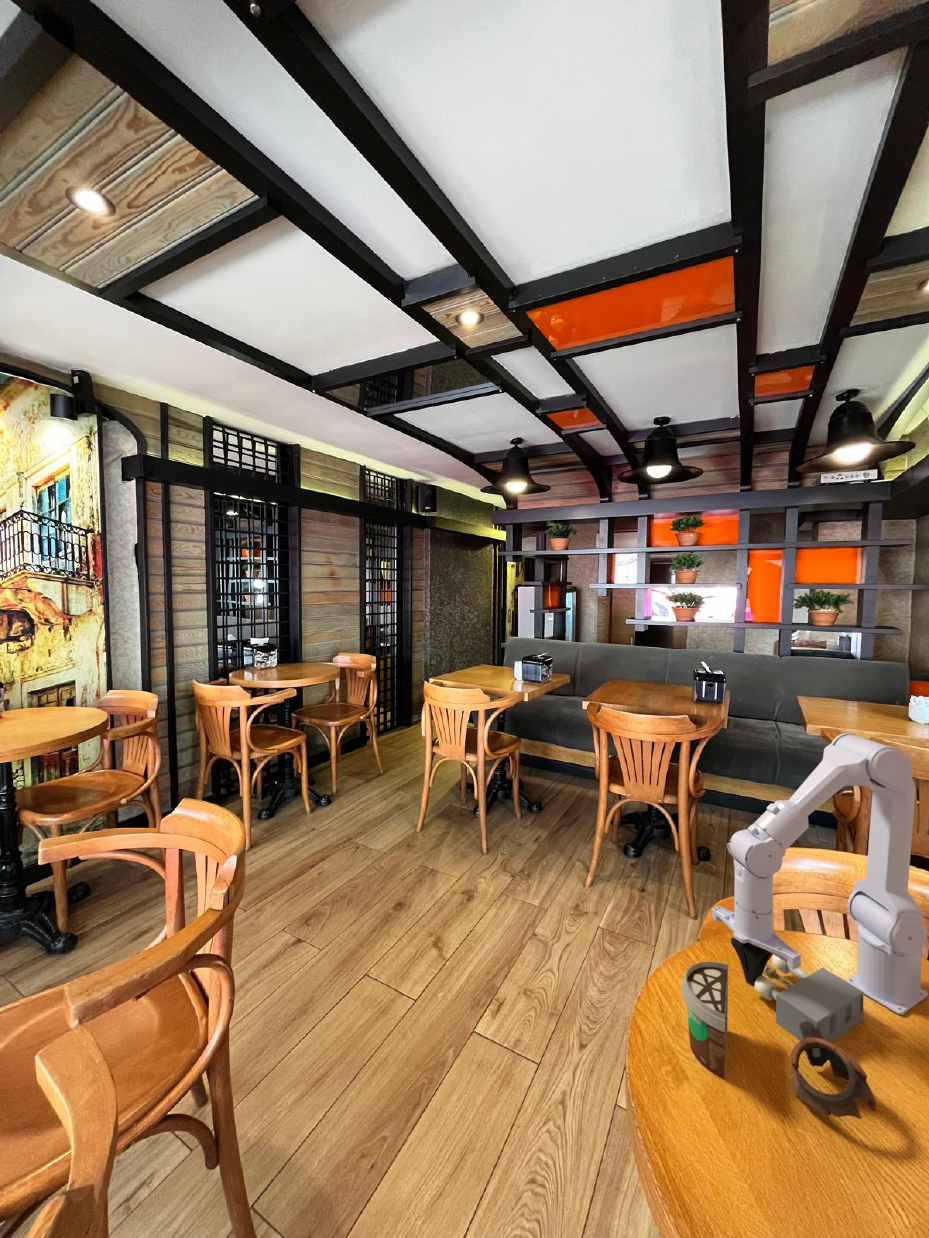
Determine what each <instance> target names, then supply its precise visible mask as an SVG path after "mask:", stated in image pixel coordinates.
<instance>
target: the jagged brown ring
mask: <svg viewBox="0 0 929 1238" xmlns="http://www.w3.org/2000/svg"><path fill="white" fill-rule="evenodd" d="M799 1027H800V1030H801V1033H802V1036H803V1040H801V1041H800V1040H799V1041H798V1042H797V1043H796V1044H795V1045H794V1047H793V1048H792V1050H791V1054H790V1063H791V1064H790V1068H791V1069H790V1070H791V1075H790V1084H791V1087H792V1089H793V1092H794V1094H795V1097H796V1098H799V1099H800V1100H801V1101H802V1102H804V1103H805V1104H806V1105H807V1106H809V1107H811V1108H812V1109H814V1110H815V1111H818V1112H819V1113H821V1114H824V1115H825V1116H827V1117H830V1116H831V1115H833V1117H835V1118H839V1117H841V1118H842V1117H847V1116H848V1117H849V1116H851V1117H854V1118H857V1119H859V1120H860V1119H862V1116H861V1113H860V1109H859V1105H858V1103H857V1100H856V1099H858V1100H861V1101H866V1100H867V1101H868V1103H869V1105H870V1107H871V1110H872V1111H874V1112H876V1111H877V1110H876V1108H877V1102H876V1097H875V1096H874V1093H873V1091H872V1089H871V1087H870V1085H869V1084H868V1083H867V1079H868V1076H867V1074H866V1072H865V1071H864V1069H863V1068H862V1066H861V1065H860V1064H859V1063H858V1062H857V1060H855V1058H854V1057H852V1055H851V1054H849V1053H848V1052H846V1051H845V1050H844V1049H842V1048H841V1047H839V1046H837V1045H835V1044H834V1043H832V1042H831V1043H830V1042H829V1041H826V1040H824V1038H823V1037H822V1036H821V1034H820V1033H819V1031H818V1030H817V1029H816V1028H815V1026H814V1025H813V1024H812V1023H811V1022H809V1021H805V1022H801V1024H800V1025H799ZM804 1052H805V1055H806V1059H807V1060H808V1062H809V1065H810V1066H812V1067H820V1068H821V1067H823V1066H824V1065H825V1064H826V1063H827V1062H828V1061H829V1064H830V1067H831V1069H832V1075H833V1077H834V1078H840V1079H843V1080H844V1081H845V1080H846V1081H847V1082H848V1083H847V1085H846V1087H845V1089H844V1090H842V1091H840V1092H838V1093H833V1094H829V1093H826V1092H822V1091H820V1090H817V1089H816V1088H815V1087H814V1086H812V1085H810V1083H808V1081H807V1080H806V1079H805V1078H804V1076H803V1075H802V1074H801V1073H799V1072H800V1071H799V1067H800V1065H799V1061H800V1058H801V1056H802V1054H803V1053H804Z"/></svg>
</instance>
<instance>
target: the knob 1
mask: <svg viewBox="0 0 929 1238" xmlns="http://www.w3.org/2000/svg"><path fill="white" fill-rule="evenodd" d="M754 990H755V992H756V993H758V994H759V995H761V996H762V997H763V998H765V1000H768V1001H772V1000H775V1001H776V994H778V993H780V992H781V991H779V990H778V989H777V984H776V983H775V982H773V980H771V979H770V978H768V977H767V976H766V975H764V974H762V975H760V976H758V978H757V979H756V981H755V986H754Z"/></svg>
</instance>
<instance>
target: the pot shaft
mask: <svg viewBox="0 0 929 1238" xmlns="http://www.w3.org/2000/svg"><path fill="white" fill-rule="evenodd" d="M776 969H777V968H775V967H773V966H771V965H770V964H768V963H767V964H766V966H765V968H764V971H763V973H762V975H763V976H765V977H766V978H768V979H769V980H776V981H778V982H779V983H781V984H782V985H784V986H785V987H786V988H788V987H790V986H792V985H794V984H795V983H793V982H792V981H790V980H789V979H787V978H785V977H784V976H782V975H781V974H779V973H778V972H777V970H776Z"/></svg>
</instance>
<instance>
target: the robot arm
mask: <svg viewBox="0 0 929 1238" xmlns="http://www.w3.org/2000/svg"><path fill="white" fill-rule="evenodd" d="M913 764H914V762H913V760H912V759H911V758H910V757H909V756H908V755H906V754H905V753H904V752H903V751H902V750H900V749H899V748H898V747H894V746H891V745H886V744H883V743H880V742H877V741H873V740H871V739H868V738H864V737H861V736H858V735H857V734H854V733H851V732H846V733H845V732H844V733H841V734H839V735H837V736H835V737H834V738H833V739H832V741H831V742H830V744H828V745H827V746H825V747H824V748H823V754H822V760H821V761H820V762H819V764H818V765H817V766H816V767H815V768H814V770H813V771H812V772H811V773H810V774H809V775H808V776H807V778H806V779H805V780H804V781H803V782H802V783H801V785H800V786H799V787H798V789H797V790H796V791H795V792H794V793H793V794H792V796H791V797H790V798H789V799H781V800H776V801H774V803H773V802H772V803H769V805H768V806H767V807H766V810H765V812H763V813H762V814H761V815H760V816H759V817H758V818H757V820H755V821H754V822H753V823H752V824H751V825H749V826H748V827H747V829H741V830H738V831H736V832H735V833H734V834H733V835H732V836H731V838H730V839H729V841H730V842H728V843H726V848H727V851H728V853H729V854H730V856H731V857H732V859H733V867H734V893H733V895H734V897H733V898H734V909H733V910H734V912H733V911H732V910H729V909H726V908H725V907H722V906H720V905H718V906H715V907H713V908H712V907H711V919H712V920H714V921H715V922H721V923H723V925H726V926H727V927H728V928H729V929H730V930H731V931H732V932H733V936H732V937H731V938H730V943H731V946H732V947H733V949H734V950H735V952H736V954H737V957H738V959H739V962H740V965H741V968H742V972H743V975H744V979H745V982H746V983H747V984H748V985H750V986H751V987H755V981H756V979H757V978H758V976H760V975H763V971H764V968H765V966H766V964H768V962H769V960H770V959H771V958H772V957H773V955H775V956H777V957H778V958H780V959H782V960H783V961H785V962H786V963H787V966H788V967H790V968H791V969H793V970H794V969H796V968H799V967H801V965H802V963H801V961H802V954H801V952H798V951H797V950H795V949H793V947H791V946H790V945H789V944H788V943H786V941H785V940H783V939H782V938H781V937H780V936H779V935H778V934H776V933H775V932H774V931H773V930H774V929H773V928H774V925H773V924H774V922H773V921H774V875H775V874H776V873H779V872H780V870H781V868H782V865H783V859H784V857H785V856H786V853H787V851H786V850H787V849H788V848H790V846H791V845H793V844H794V843H795V841H797V840H798V838H799V837H801V836H802V835H803V833H804V832H806V830H808V829H809V824H810V823H809V815H811V814H812V813H813V812H815V811H816V810H817V809H818V808H819V807H820V806H822V805H823V804H824V803H825V802H826V801H828V800H829V799H830V798H831V797H832V796H833V795H835V794H836V793H837V792H839V791H840V790H841V789H842V788H843V787H846V786H847V787H848V786H852V787H856V786H857V787H869V788H868V789H870V790H871V791H872V796H871V808H870V809H871V810H870V819H869V821H870V823H869V832H868V833H869V836H868V847H867V849H868V850H867V860H866V861H867V863H866V874H865V875H866V876H865V878H862V879H857V880H855V881H854V882H853V890H852V892H851V894H850V896H849V897H848V899H847V905H846V906H847V912H848V914H849V916H850V917H851V918H852V919H853V920H854V921H855V925H854V927H855V928H856V929H857V973H855V974H854V975H853V976H850V977H849V978H848V979H846V980H845V981H846V982H848V983H850V984H851V985H853V986H855V987H856V988H858V989H860V990H861V991H863V995H865V996H867V997H869V998H870V999H873V1000H874V1001H875V1002H877V1003H879V1004H880V1005H882V1006H884V1007H886V1008H887V1009H888V1010H890V1011H893V1012H894V1013H895V1014H897V1015H901V1016H903V1015H904V1014H906V1013H907V1012H908V1011H909V1010H911V1009H912V1008H914V1007H915V1006H916V1005H918V1004H919V1003H920V1002H921V1001H923V1000H924V999H926V998H927V997H928V996H929V993H928V992H927V991H926V990H924V989H922V954H921V951H922V950H923V949H924V948H925V946H926V942H927V930H926V928H925V926H924V922H923V915H924V914H923V913H924V912H923V911H922V910H921V908H920V907H919V905H918V903H917V902H916V901H915V899H914V898H913V896H912V895H911V894H910V892H909V878H910V868H911V867H910V866H911V865H910V863H911V851H912V842H913V841H912V839H913V827H914V826H913V825H914V813H915V803H916V785H915V782H914V779H913V777H912V776H913Z"/></svg>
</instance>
